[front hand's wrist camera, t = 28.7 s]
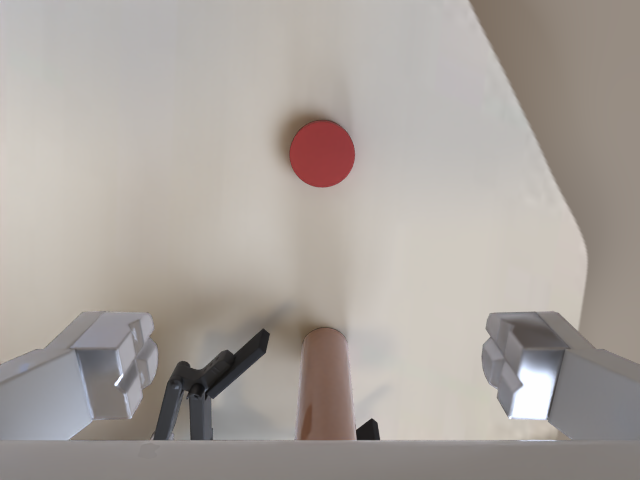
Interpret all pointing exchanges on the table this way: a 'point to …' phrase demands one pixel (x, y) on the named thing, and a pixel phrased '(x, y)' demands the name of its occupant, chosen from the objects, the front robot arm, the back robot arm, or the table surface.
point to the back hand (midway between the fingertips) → (323, 387)
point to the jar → (325, 388)
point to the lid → (322, 153)
